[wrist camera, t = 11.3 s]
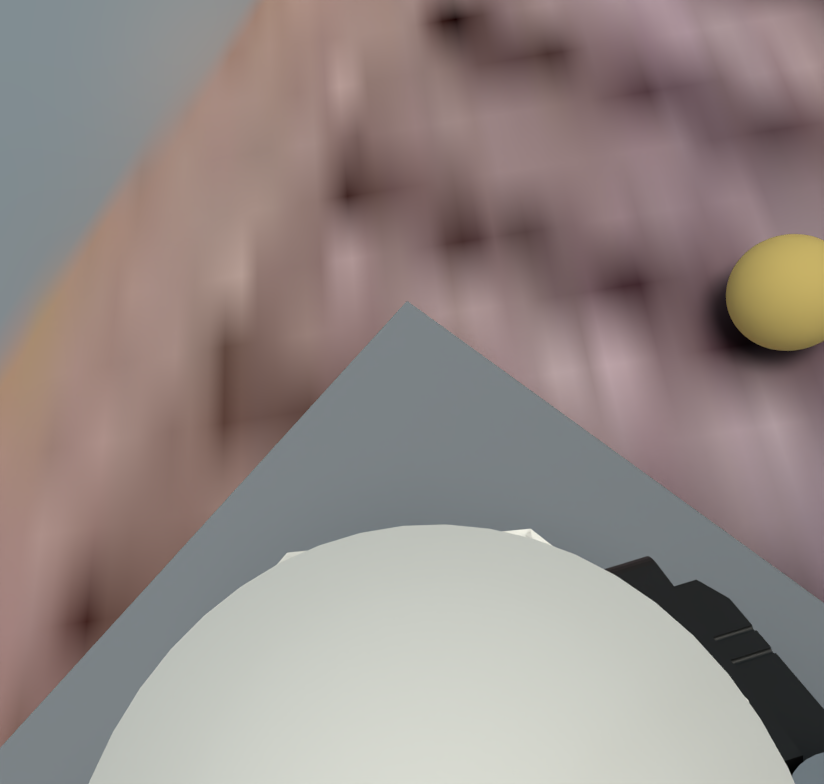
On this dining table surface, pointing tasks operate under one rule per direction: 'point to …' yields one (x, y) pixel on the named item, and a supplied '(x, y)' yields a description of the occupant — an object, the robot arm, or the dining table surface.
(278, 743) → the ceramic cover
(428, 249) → the dining table surface
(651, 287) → the dining table surface
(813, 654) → the rubber mat
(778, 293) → the ball
